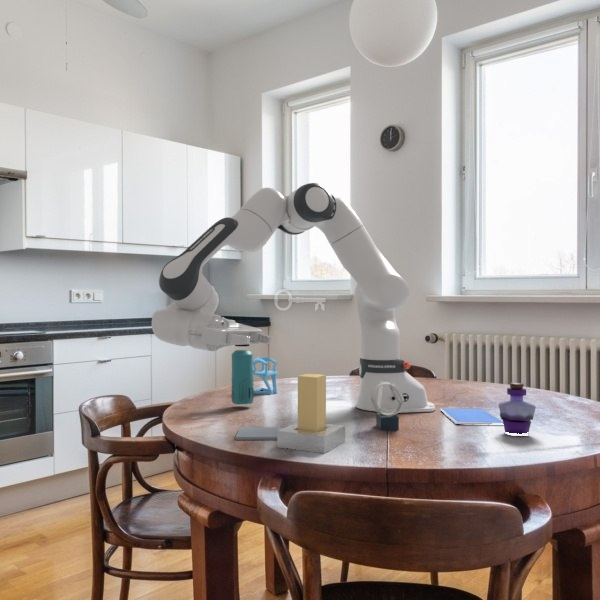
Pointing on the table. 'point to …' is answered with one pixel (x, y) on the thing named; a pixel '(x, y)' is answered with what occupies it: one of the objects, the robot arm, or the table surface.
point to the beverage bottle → (242, 376)
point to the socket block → (311, 438)
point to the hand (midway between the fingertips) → (259, 340)
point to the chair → (265, 375)
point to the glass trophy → (388, 419)
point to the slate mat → (257, 433)
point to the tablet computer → (470, 416)
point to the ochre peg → (312, 402)
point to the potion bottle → (516, 410)
